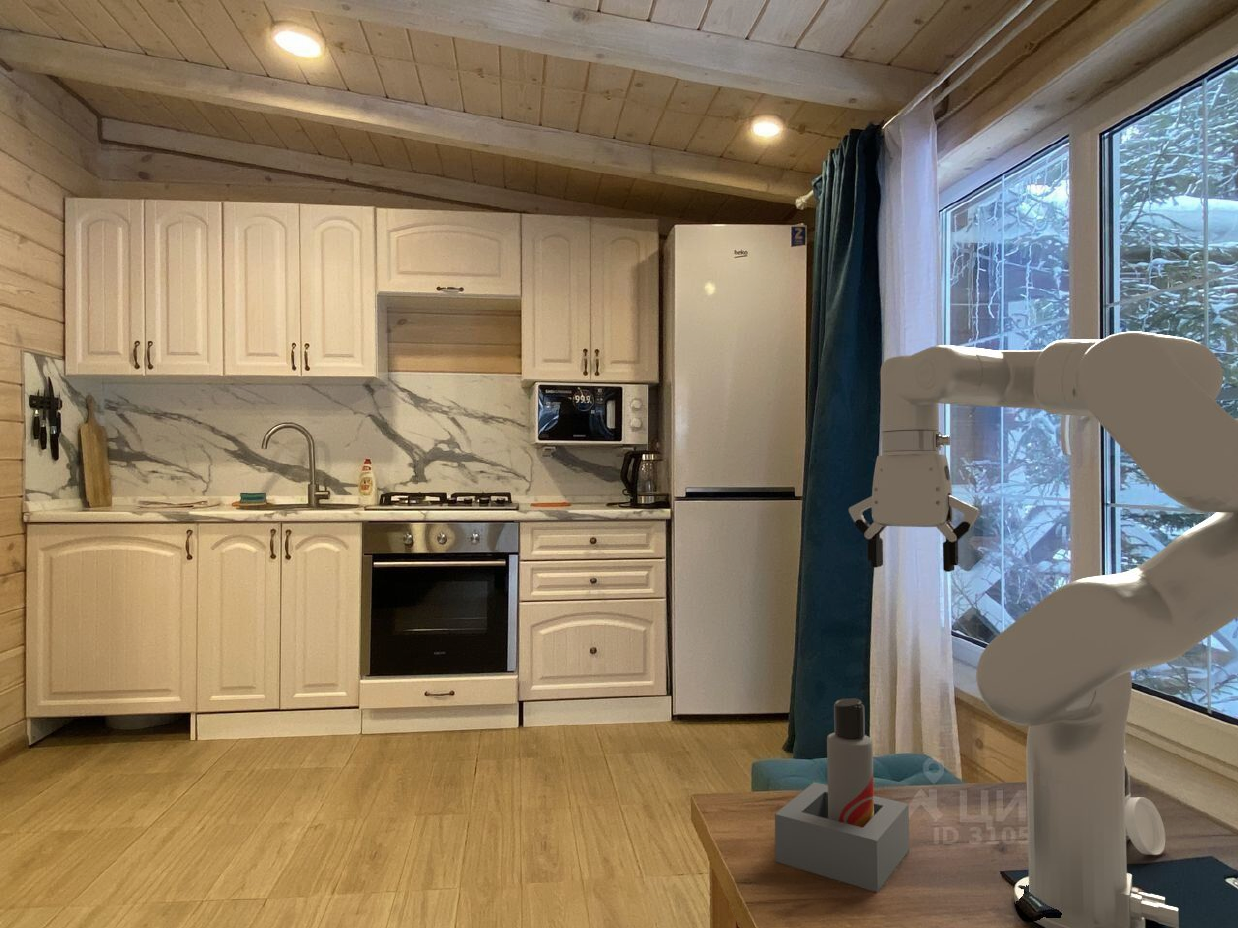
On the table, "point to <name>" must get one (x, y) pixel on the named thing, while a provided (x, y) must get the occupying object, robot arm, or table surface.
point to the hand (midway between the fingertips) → (912, 568)
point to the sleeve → (841, 839)
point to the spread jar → (1142, 822)
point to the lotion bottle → (850, 766)
